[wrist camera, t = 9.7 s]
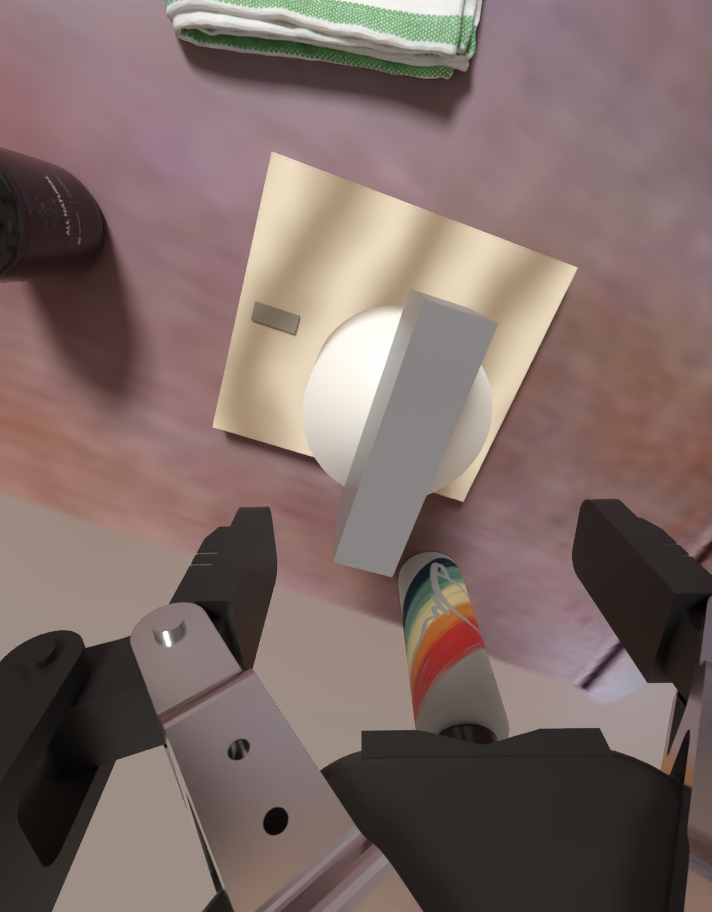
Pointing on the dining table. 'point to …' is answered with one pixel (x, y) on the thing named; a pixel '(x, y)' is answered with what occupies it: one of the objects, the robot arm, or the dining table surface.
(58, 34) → the dining table surface
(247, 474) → the dining table surface
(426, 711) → the lotion bottle
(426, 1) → the dish towel
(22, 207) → the supplement bottle
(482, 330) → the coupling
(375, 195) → the post board
